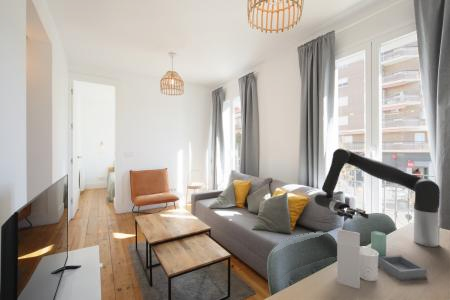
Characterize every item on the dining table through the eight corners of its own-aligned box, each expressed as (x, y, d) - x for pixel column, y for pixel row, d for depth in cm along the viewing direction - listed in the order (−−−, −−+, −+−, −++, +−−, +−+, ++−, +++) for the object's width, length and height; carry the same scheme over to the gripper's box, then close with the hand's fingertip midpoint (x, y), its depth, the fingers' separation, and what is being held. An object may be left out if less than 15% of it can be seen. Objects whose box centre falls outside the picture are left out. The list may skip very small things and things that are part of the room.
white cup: (382, 283, 81) (382, 256, 80) (359, 281, 82) (359, 254, 82) (372, 271, 88) (372, 247, 88) (351, 269, 90) (351, 245, 90)
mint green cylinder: (378, 254, 102) (379, 231, 102) (389, 260, 97) (389, 235, 96) (368, 254, 101) (368, 231, 101) (377, 261, 96) (378, 236, 96)
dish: (400, 263, 94) (400, 255, 94) (426, 278, 83) (426, 269, 83) (377, 265, 93) (377, 256, 93) (400, 280, 82) (401, 271, 82)
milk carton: (359, 289, 77) (359, 236, 77) (337, 283, 81) (337, 232, 81) (359, 279, 83) (359, 229, 83) (338, 273, 87) (338, 226, 87)
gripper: (328, 201, 125) (347, 209, 109) (350, 200, 127) (373, 209, 111) (327, 214, 125) (346, 224, 109) (350, 213, 127) (372, 223, 111)
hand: (360, 216), depth 110 cm, fingers open, 8 cm apart
